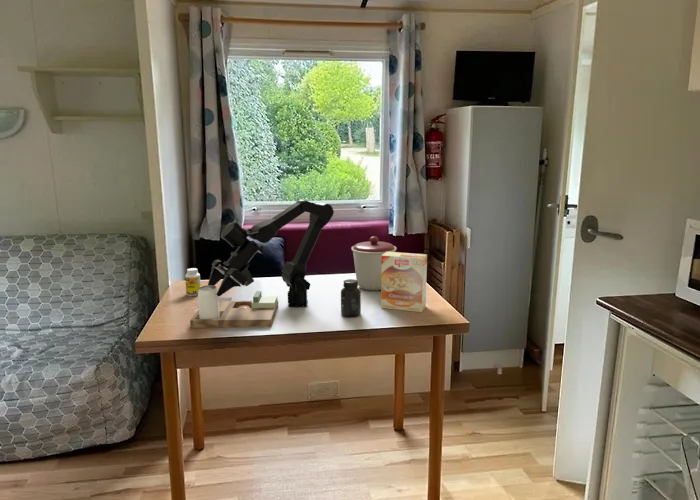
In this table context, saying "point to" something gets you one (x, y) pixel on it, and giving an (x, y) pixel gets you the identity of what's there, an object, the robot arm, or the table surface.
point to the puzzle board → (237, 316)
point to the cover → (263, 301)
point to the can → (208, 302)
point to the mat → (224, 299)
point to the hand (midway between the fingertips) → (212, 292)
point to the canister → (370, 262)
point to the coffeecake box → (403, 281)
